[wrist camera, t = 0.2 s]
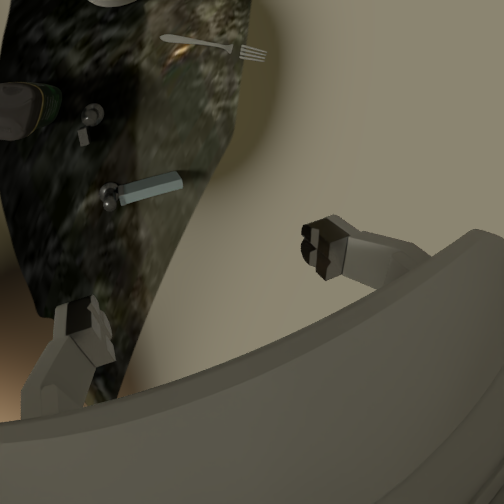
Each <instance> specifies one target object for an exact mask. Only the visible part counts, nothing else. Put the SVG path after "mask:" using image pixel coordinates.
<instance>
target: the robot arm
mask: <svg viewBox="0 0 504 504" xmlns="http://www.w3.org/2000/svg"><path fill="white" fill-rule="evenodd" d="M88 1H90V2H91V3H93V4H95V5H98V6H103V7H117V6H122V5H126V4H129V3H132V2H134V1H136V0H88ZM301 235H302V236H303V237H304V239H303V241H302V243H301V252H302V255H303V258H304V260H305V261H306V262H307V263H308V264H309V265H311V266H314V267H316V272H317V273H318V274H319V275H320V276H321V277H322V278H323V279H324V280H325V281H327V280H329V279H332V278H334V277H337V276H339V275H341V274H342V275H343V276H346V277H348V278H350V279H353V280H355V281H358V282H360V283H362V284H365V285H367V286H370V287H372V288H374V289H377V290H376V291H374V292H372V293H370V294H369V295H367V296H365V297H363V298H361V299H360V300H358V301H356V302H354V303H352V304H350V305H348V306H346V307H344V308H343V309H341V310H339V311H337V312H335V313H333V314H331V315H329V316H327V317H325V318H323V319H321V320H319V321H317V322H315V323H313V324H311V325H309V326H307V327H305V328H302V329H301V330H298V331H296V332H294V333H292V334H290V335H288V336H285V337H283V338H281V339H279V340H277V341H274V342H272V343H270V344H268V345H265V346H263V347H261V348H259V349H256V350H254V351H251V352H249V353H246V354H244V355H242V356H239V357H237V358H234V359H232V360H229V361H227V362H225V363H222V364H219V365H217V366H214V367H212V368H209V369H206V370H203V371H201V372H198V373H195V374H192V375H190V376H187V377H184V378H182V379H179V380H175V381H173V382H170V383H167V384H163V385H160V386H158V387H154V388H151V389H148V390H145V391H142V392H138V393H135V394H132V395H128V396H125V397H121V398H118V399H114V400H110V401H107V402H103V403H99V404H95V405H91V406H87V407H83V405H84V402H85V398H86V395H87V392H88V389H89V386H90V383H91V381H92V378H93V375H94V372H95V369H96V368H95V367H98V366H101V365H104V364H107V363H110V362H113V361H116V360H115V354H114V347H113V345H112V343H111V342H110V339H111V337H112V332H111V328H110V325H109V322H108V319H107V317H106V315H105V313H104V312H103V311H101V310H99V303H98V301H97V300H96V298H95V296H93V295H90V296H87V297H84V298H81V299H78V300H74V301H71V302H69V303H65V304H62V305H60V306H57V308H56V310H55V320H54V332H53V340H52V341H50V342H49V343H48V345H47V347H46V348H45V350H44V351H43V353H42V355H41V356H40V358H39V360H38V362H37V363H36V365H35V367H34V369H33V370H32V372H31V374H30V375H29V377H28V379H27V381H26V383H25V384H24V386H23V388H22V390H21V420H16V421H9V422H1V423H0V504H504V239H503V238H502V237H500V236H497V235H495V234H492V233H489V232H486V231H483V230H478V229H473V230H471V231H469V232H467V233H466V234H465V235H463V236H462V237H460V238H459V239H458V240H456V241H455V242H453V243H452V244H450V245H449V246H447V247H446V248H444V249H443V250H441V251H440V252H438V253H437V254H435V255H434V256H432V257H431V256H430V255H428V254H427V253H426V252H424V251H423V250H422V249H420V248H419V247H418V246H416V245H415V244H413V243H410V242H406V241H402V240H398V239H394V238H390V237H386V236H382V235H378V234H374V233H369V232H366V231H362V232H360V231H359V230H357V229H356V228H355V227H353V226H352V225H350V224H349V223H347V222H346V221H345V220H343V219H342V218H340V217H339V216H337V215H331V216H328V217H325V218H323V219H320V220H317V221H314V222H311V223H308V224H305V225H303V227H302V231H301Z"/></svg>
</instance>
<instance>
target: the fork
mask: <svg viewBox="0 0 504 504" xmlns="http://www.w3.org/2000/svg"><path fill="white" fill-rule="evenodd" d="M160 38H161V39H162V40H163V41H166V42H174V43H186V44H200V45H209V46H215V47H220V48H223V49H225V50H227V51H228V52H229V53H230V54H231V51H232V47H233V45H228V46H226V45H220V44H216V43H211V42H205V41H201V40H196V39H192V38H187V37H182V36H176V35H170V34H168V35H162V36H160ZM242 47H245V48H249V49H253V50H257V51H261V52H266V51H263V50H260V49H256V48H252V47H248V46H245V45H242ZM241 51H246V52H250V53H255V54H260V55H265V54H261V53H258V52H254V51H250V50H246V49H243V48H241ZM266 53H267V52H266ZM240 55H246V56H252V57H257V58H263V57H260V56H256V55H251V54H246V53H243V52H240ZM265 56H266V55H265ZM239 58H242V59H248V60H254V61H262V60H258V59H252V58H247V57H242V56H240V57H239ZM263 59H264V58H263ZM262 62H264V61H262Z"/></svg>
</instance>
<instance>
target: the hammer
mask: <svg viewBox="0 0 504 504" xmlns="http://www.w3.org/2000/svg"><path fill="white" fill-rule="evenodd" d="M103 117H104V110H103V108H102V106H101V105H99V104H96V103H92V104H89V105H87V106H86V107H85V108H84V109H83V111H82V114H81V119H82V122H83V124H84V125H86V126H84V127H81V128H80V129H79V130H78V135H79V140H80V145H81V146H84V145H88V144H89V143H90V141H91V137H90V132H89V127H88V126H90V127H92V126H96V125H98V124H99V123H100V122H101V121H102V119H103Z"/></svg>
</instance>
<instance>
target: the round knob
mask: <svg viewBox="0 0 504 504" xmlns="http://www.w3.org/2000/svg"><path fill="white" fill-rule="evenodd" d="M99 195H100V198H101V200H102V201H103V202H104V209H105V210H106V211H113V210H114V209H115V208H116V201H117V200H118V199H119V192H118V185H117V184H115V183H113V182H108V183H106V184H104V185H103V186H102V187H101V189H100V193H99Z"/></svg>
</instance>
